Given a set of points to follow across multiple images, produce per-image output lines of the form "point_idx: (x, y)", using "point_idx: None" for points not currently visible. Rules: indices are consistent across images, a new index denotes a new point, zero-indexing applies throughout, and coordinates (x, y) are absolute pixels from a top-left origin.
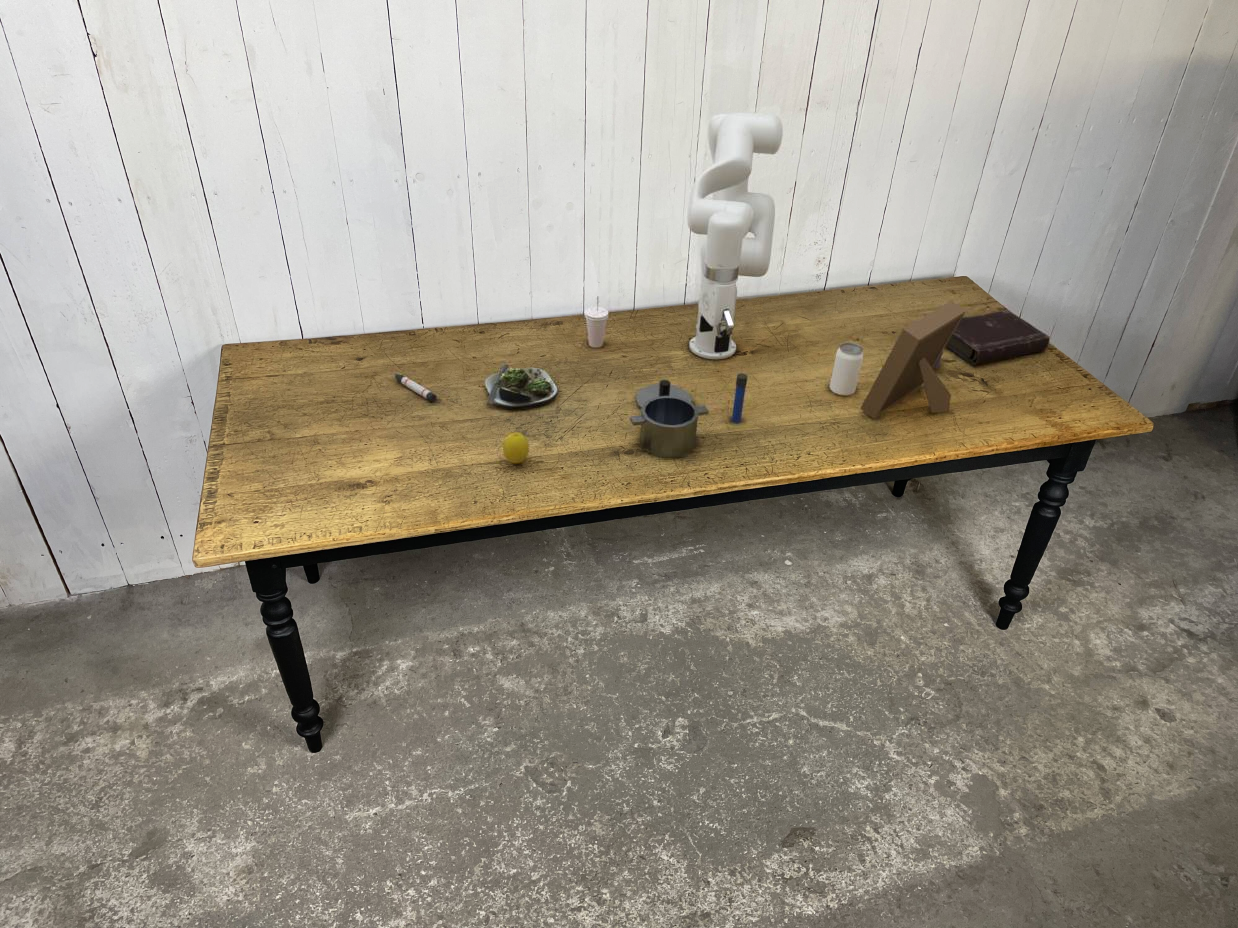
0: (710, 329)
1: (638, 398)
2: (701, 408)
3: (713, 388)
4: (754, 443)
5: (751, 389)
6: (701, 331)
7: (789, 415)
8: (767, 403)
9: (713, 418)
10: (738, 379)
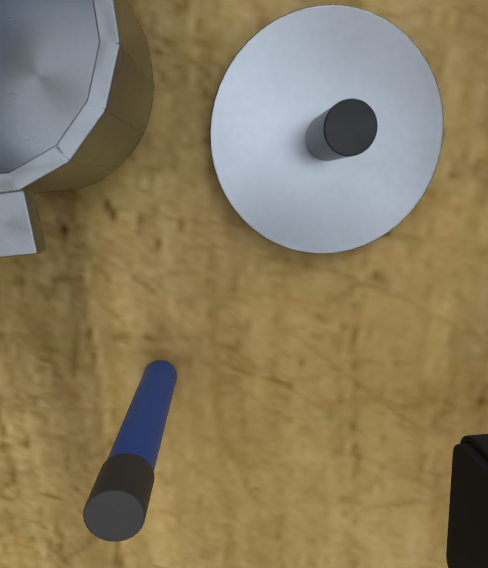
0: (461, 564)
1: (350, 17)
2: (6, 228)
3: (377, 356)
4: (17, 395)
5: (342, 475)
6: (461, 453)
7: (170, 540)
8: (249, 498)
9: (185, 302)
10: (101, 485)
